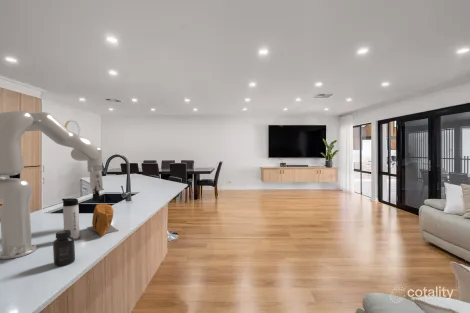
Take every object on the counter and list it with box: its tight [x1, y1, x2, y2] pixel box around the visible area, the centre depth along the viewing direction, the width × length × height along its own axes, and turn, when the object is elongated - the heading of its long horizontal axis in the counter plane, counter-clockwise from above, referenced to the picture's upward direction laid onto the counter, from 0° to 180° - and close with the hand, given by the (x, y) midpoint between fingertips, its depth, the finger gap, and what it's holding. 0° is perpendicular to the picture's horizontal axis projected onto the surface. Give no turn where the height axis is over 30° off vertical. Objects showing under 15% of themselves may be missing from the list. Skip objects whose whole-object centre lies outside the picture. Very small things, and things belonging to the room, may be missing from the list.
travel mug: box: [61, 197, 81, 241], centre depth 124 cm, size 6×7×20 cm
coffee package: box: [91, 203, 114, 237], centre depth 135 cm, size 10×12×22 cm
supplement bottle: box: [52, 229, 76, 267], centre depth 98 cm, size 7×7×12 cm
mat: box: [87, 224, 119, 237], centre depth 139 cm, size 19×11×1 cm, turn 40°
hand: (96, 200), depth 148 cm, fingers closed
